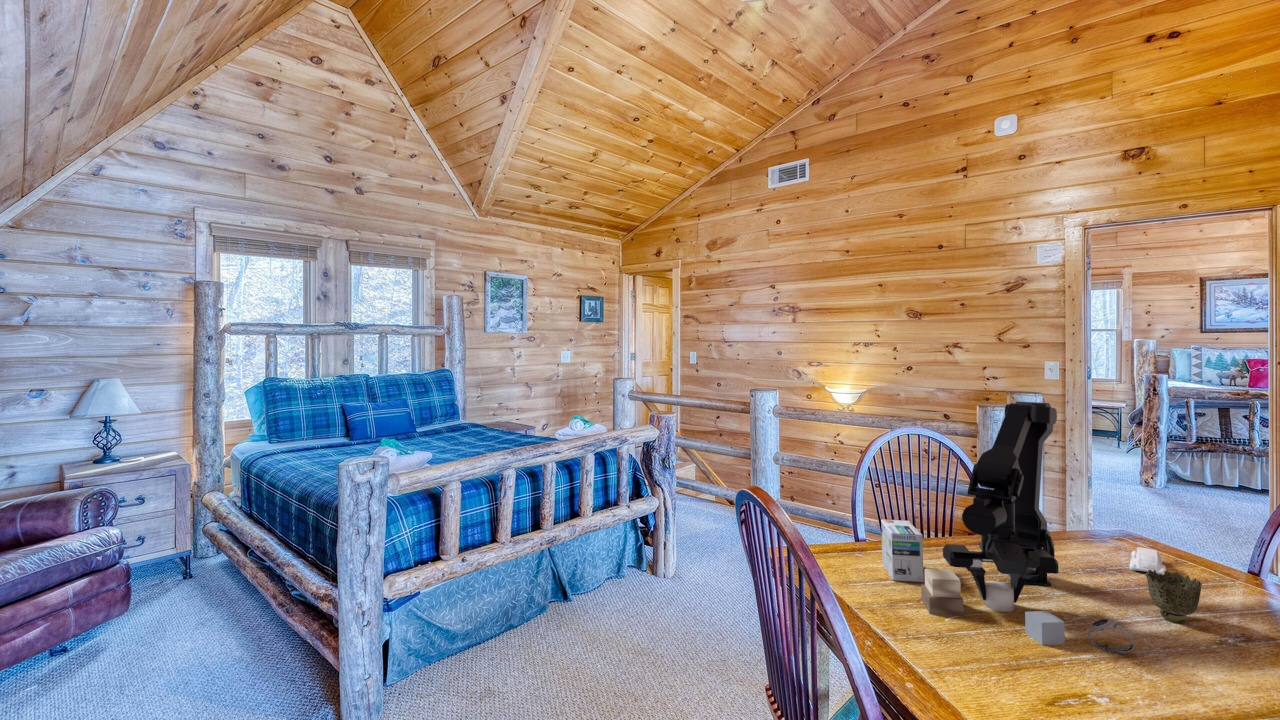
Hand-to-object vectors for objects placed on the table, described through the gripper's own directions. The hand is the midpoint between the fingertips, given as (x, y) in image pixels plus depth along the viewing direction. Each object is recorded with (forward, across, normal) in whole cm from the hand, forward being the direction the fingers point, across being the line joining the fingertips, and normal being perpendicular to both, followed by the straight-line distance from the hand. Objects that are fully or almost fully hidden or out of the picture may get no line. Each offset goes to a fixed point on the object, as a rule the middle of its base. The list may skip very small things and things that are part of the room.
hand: (998, 600), depth 109 cm
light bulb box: (+1, -15, +14) cm, 21 cm away
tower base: (+1, -11, -3) cm, 12 cm away
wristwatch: (+1, +12, -14) cm, 18 cm away
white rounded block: (+2, +40, +27) cm, 48 cm away
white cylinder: (+1, 0, 0) cm, 1 cm away
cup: (+1, +29, 0) cm, 29 cm away
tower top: (-2, -11, -3) cm, 12 cm away
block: (+1, +3, -12) cm, 12 cm away
